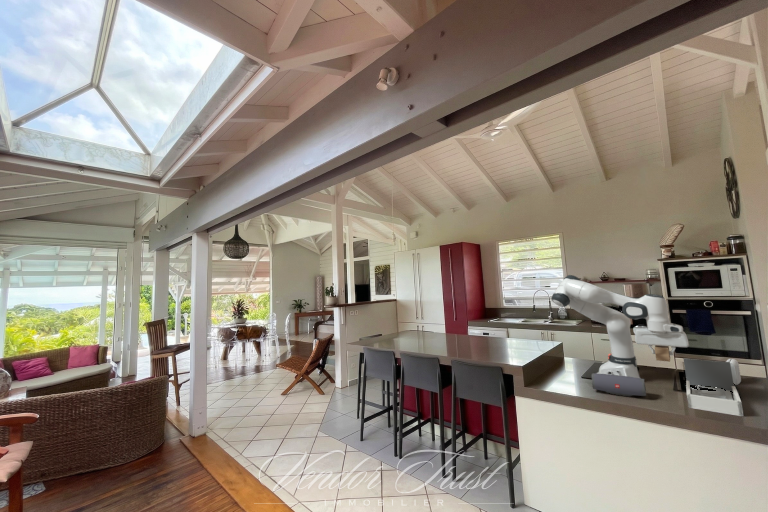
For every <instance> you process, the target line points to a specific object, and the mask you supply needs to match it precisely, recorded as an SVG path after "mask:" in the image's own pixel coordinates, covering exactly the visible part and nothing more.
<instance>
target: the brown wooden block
mask: <svg viewBox="0 0 768 512" xmlns="http://www.w3.org/2000/svg"><path fill="white" fill-rule="evenodd" d="M654 350H655V354H654V355H655V361H660V362H671V355H669V351H670V346H659V345H654Z"/></svg>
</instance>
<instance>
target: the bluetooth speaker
mask: <svg viewBox="0 0 768 512" xmlns="http://www.w3.org/2000/svg"><path fill="white" fill-rule="evenodd" d="M597 373H598V372H595V373H591V385H592V389H593V390H595V391H600V392H606V393H607V394H609V393H610V394H609V395H614V394H616V396H621V395H623V397H632V396H641V397H646V396H647V390H646V383H645V378H641V377H640V378H635V377H628V376H620V375H611V374H597Z"/></svg>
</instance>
